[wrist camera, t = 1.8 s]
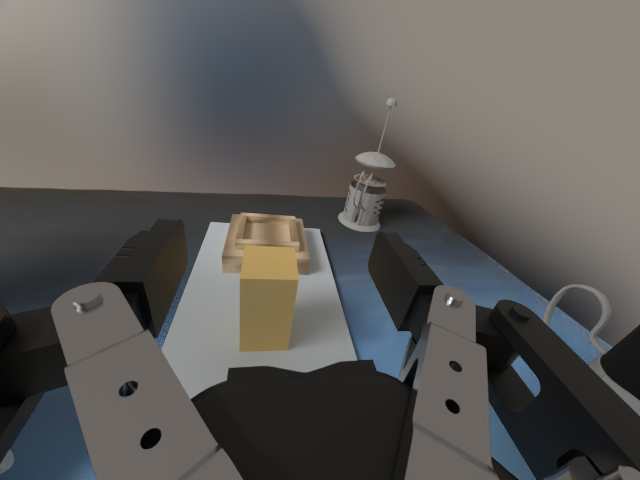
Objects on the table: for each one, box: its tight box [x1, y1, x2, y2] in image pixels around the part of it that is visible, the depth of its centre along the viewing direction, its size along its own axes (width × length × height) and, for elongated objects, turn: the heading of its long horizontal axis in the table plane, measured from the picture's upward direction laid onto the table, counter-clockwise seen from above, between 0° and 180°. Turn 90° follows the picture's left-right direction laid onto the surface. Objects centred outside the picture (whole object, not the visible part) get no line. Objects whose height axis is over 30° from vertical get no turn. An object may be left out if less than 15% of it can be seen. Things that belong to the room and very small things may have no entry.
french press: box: [338, 98, 397, 232], centre depth 53 cm, size 10×12×25 cm
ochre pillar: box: [239, 245, 299, 352], centre depth 28 cm, size 5×5×10 cm
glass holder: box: [543, 284, 640, 416], centre depth 24 cm, size 9×14×15 cm, turn 10°
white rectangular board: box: [161, 222, 357, 399], centre depth 37 cm, size 20×32×1 cm, turn 9°
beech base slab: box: [222, 213, 310, 275], centre depth 42 cm, size 12×12×4 cm
